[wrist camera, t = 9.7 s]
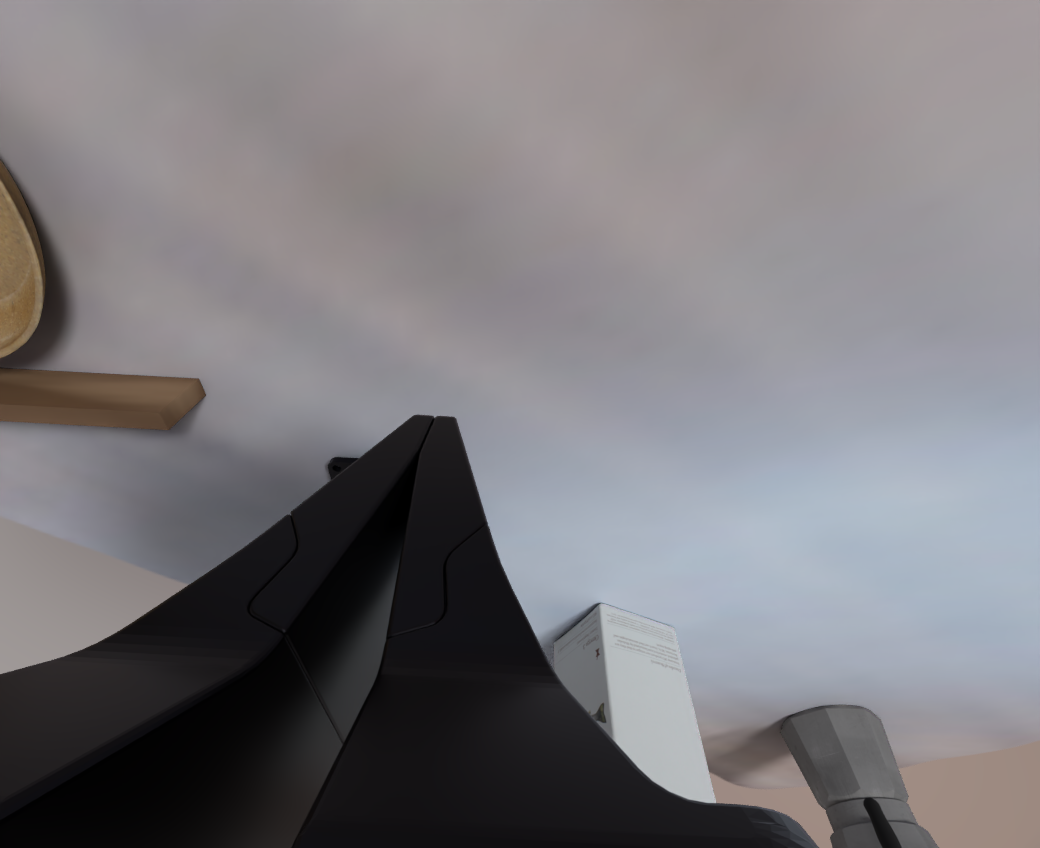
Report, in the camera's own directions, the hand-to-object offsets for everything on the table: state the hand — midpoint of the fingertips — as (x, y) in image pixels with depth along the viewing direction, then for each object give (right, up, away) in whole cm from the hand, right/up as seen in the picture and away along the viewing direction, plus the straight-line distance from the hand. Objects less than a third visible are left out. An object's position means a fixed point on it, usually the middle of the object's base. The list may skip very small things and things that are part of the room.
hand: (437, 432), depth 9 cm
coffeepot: (+33, -29, +36) cm, 57 cm away
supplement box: (+9, -17, +28) cm, 34 cm away
